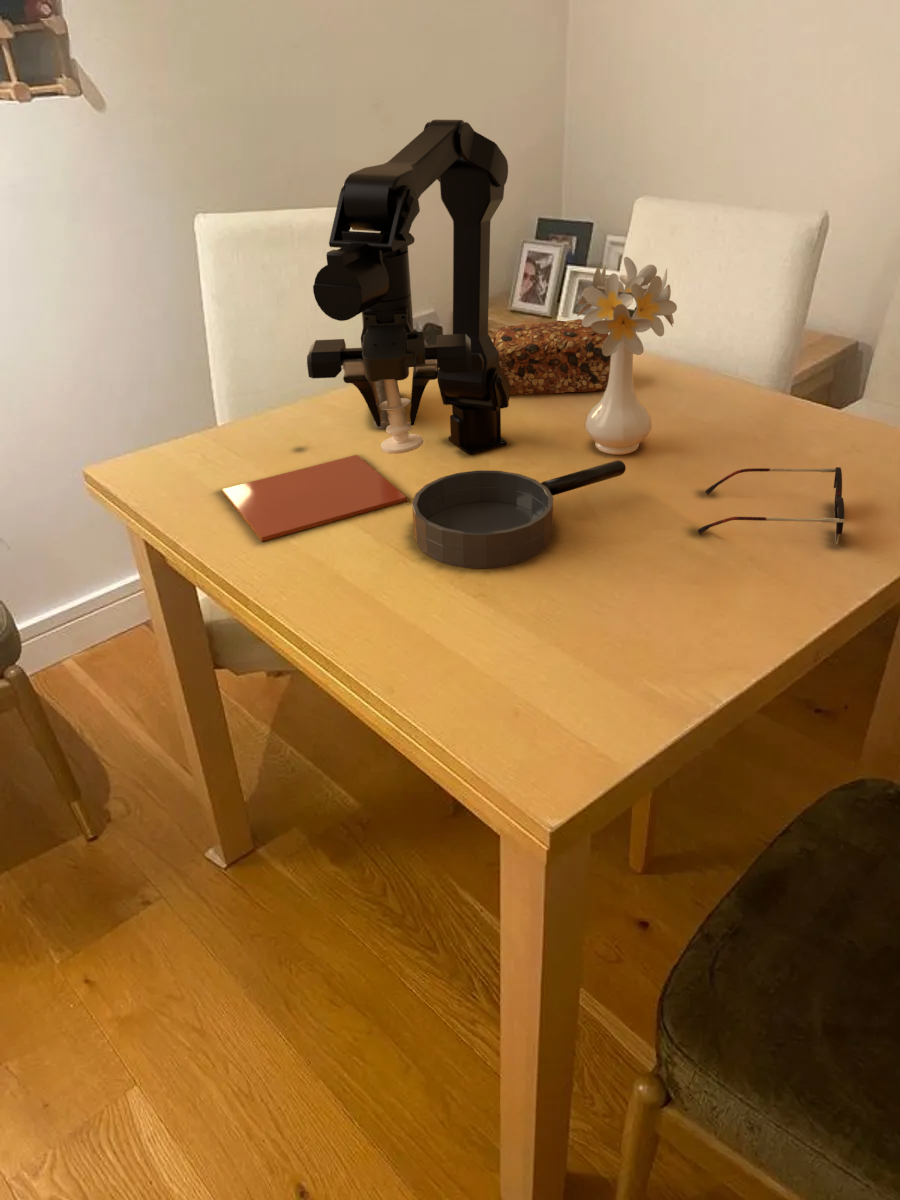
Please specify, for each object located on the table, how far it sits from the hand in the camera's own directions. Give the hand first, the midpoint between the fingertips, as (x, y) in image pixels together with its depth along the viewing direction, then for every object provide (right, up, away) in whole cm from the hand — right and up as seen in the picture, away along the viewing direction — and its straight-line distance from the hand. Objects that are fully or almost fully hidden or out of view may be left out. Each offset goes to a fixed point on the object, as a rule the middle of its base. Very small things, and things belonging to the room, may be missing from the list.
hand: (395, 425), depth 117 cm
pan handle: (+23, -7, +6) cm, 25 cm away
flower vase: (+31, 0, +21) cm, 38 cm away
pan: (+11, -13, +2) cm, 17 cm away
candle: (+1, -2, +2) cm, 3 cm away
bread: (+23, +14, +44) cm, 52 cm away
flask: (-4, +9, +37) cm, 38 cm away
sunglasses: (+46, -11, +2) cm, 47 cm away
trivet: (-12, -7, +12) cm, 19 cm away
